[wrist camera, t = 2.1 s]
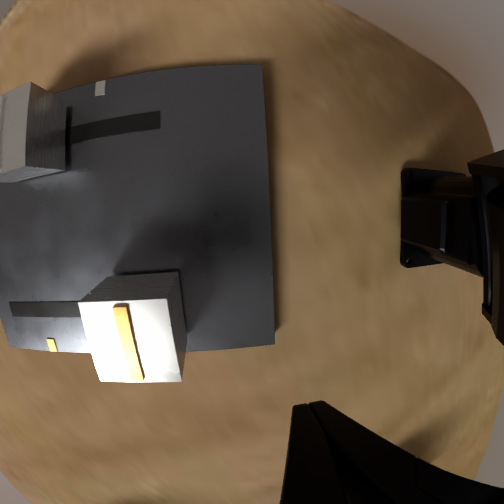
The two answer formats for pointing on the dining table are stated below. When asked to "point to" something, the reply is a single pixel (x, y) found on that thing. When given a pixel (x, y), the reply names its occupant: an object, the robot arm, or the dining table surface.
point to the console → (147, 209)
